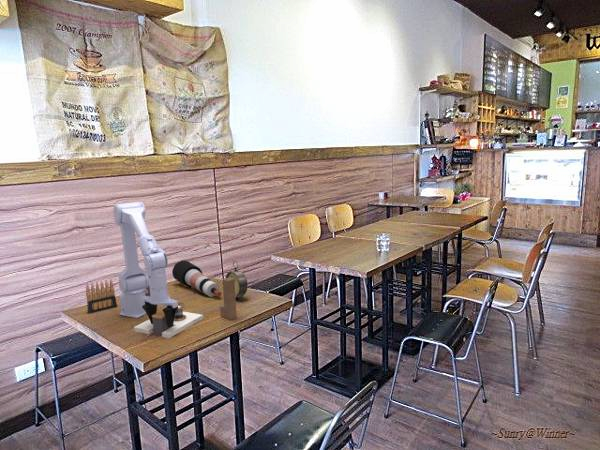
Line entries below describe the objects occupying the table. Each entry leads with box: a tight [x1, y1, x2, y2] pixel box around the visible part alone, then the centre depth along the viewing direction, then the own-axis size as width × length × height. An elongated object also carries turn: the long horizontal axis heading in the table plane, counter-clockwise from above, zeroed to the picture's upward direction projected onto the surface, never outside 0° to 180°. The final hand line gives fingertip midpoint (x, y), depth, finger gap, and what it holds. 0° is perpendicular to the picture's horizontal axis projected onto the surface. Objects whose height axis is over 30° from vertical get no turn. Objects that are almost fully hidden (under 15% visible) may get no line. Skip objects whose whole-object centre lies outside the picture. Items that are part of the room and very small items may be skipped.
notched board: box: [133, 311, 204, 339], centre depth 156 cm, size 16×18×2 cm
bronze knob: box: [174, 302, 186, 321], centre depth 157 cm, size 5×5×5 cm
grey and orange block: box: [152, 310, 173, 336], centre depth 150 cm, size 4×5×7 cm
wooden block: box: [219, 277, 238, 321], centre depth 160 cm, size 7×3×15 cm, turn 40°
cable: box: [172, 259, 223, 298], centre depth 193 cm, size 10×34×10 cm, turn 38°
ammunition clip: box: [85, 278, 118, 315], centre depth 173 cm, size 11×2×12 cm, turn 128°
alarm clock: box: [225, 260, 248, 302], centre depth 180 cm, size 11×5×16 cm, turn 42°
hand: (162, 324), depth 150 cm, fingers open, 7 cm apart
